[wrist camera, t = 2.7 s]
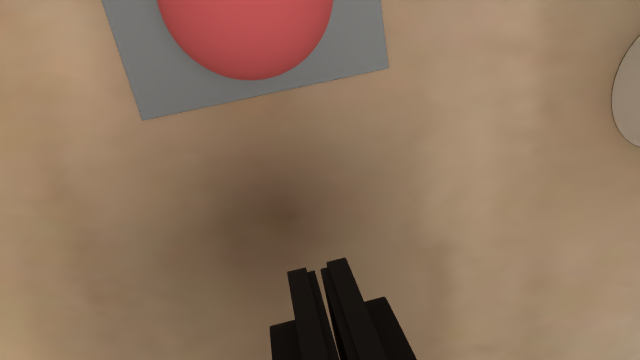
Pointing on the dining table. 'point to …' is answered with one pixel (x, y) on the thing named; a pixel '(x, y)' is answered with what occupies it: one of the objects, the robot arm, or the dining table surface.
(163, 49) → the grey flat plate
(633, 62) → the cylindrical container
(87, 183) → the dining table surface
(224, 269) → the dining table surface
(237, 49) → the ball
